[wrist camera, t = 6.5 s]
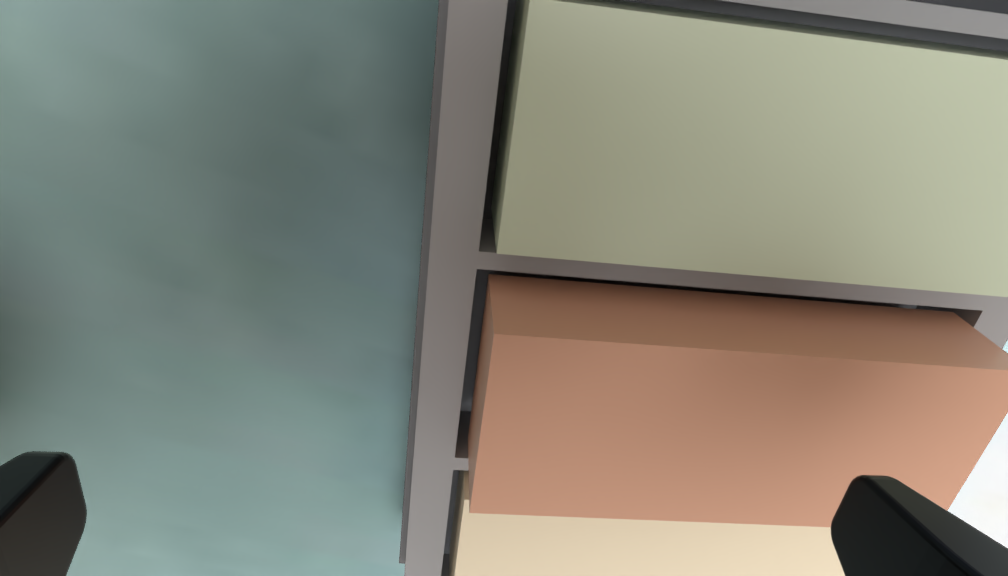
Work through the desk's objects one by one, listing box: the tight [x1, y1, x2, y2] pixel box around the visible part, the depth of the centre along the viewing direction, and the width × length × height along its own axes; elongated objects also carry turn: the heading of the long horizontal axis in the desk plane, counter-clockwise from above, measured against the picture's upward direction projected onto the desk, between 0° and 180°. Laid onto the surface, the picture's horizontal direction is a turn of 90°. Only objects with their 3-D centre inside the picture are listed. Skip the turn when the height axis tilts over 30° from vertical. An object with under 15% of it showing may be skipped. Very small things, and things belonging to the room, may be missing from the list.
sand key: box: [449, 470, 845, 576], centre depth 19 cm, size 11×5×2 cm, turn 83°
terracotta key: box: [468, 274, 1008, 527], centre depth 15 cm, size 11×5×2 cm, turn 83°
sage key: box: [491, 0, 1008, 297], centre depth 13 cm, size 11×5×2 cm, turn 83°
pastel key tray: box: [399, 0, 1008, 576], centre depth 16 cm, size 14×23×4 cm, turn 173°
